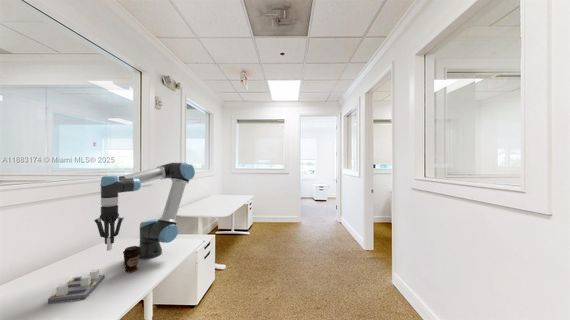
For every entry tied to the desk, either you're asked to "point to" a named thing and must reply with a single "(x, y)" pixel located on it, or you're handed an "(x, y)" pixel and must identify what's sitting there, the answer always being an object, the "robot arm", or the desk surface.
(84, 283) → the tab
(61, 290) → the tab
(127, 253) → the coffee cup
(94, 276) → the tab
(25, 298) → the desk surface
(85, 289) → the switch board
